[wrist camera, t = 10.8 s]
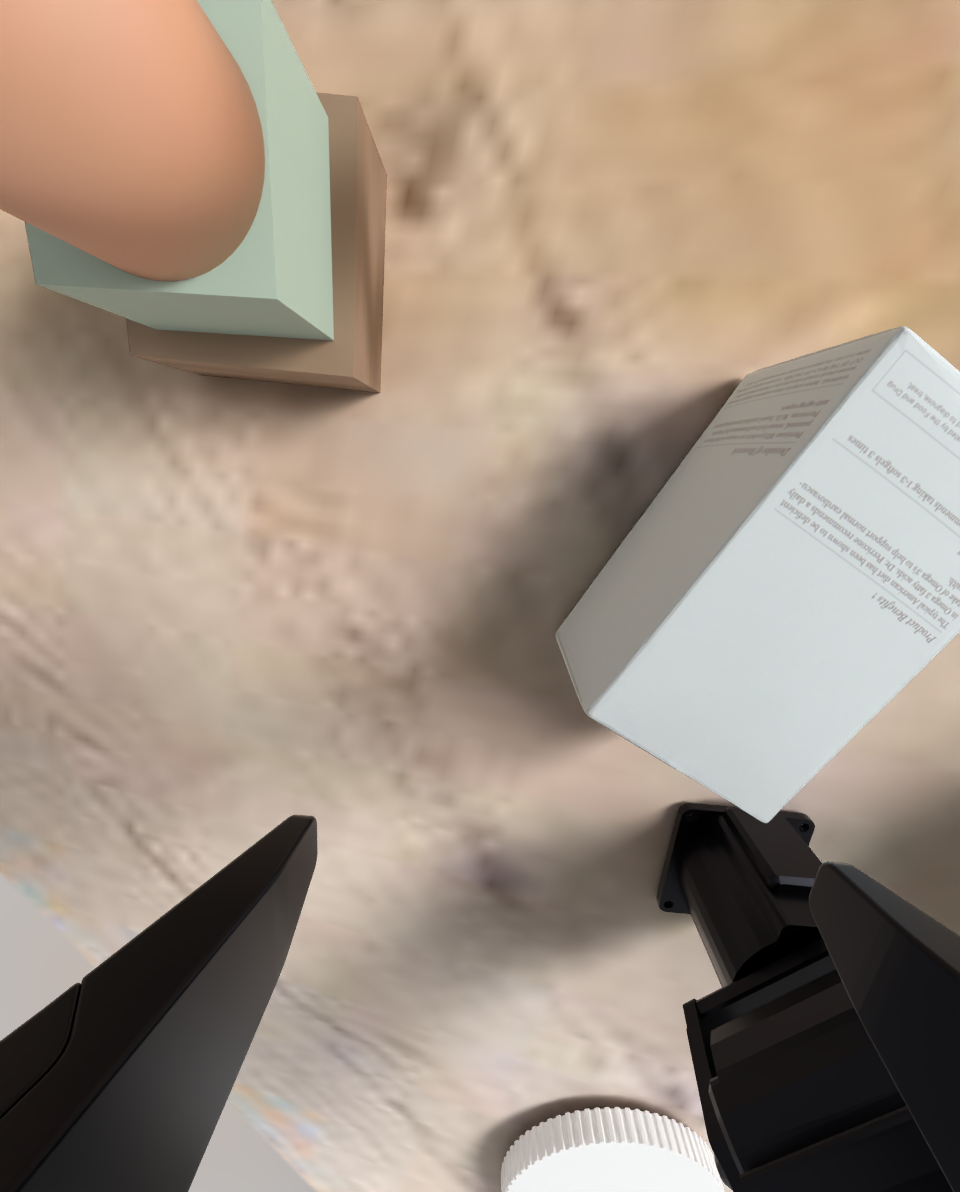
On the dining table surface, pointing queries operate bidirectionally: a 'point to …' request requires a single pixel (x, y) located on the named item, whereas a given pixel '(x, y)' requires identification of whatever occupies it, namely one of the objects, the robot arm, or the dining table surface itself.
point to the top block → (278, 233)
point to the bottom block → (353, 280)
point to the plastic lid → (610, 1155)
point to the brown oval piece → (128, 132)
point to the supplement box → (783, 572)
